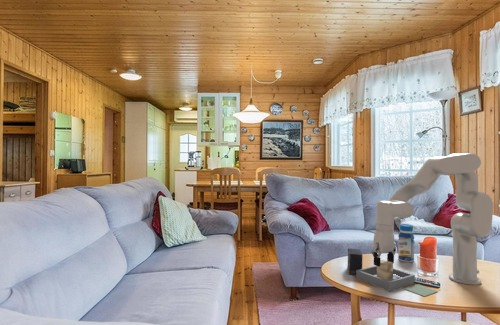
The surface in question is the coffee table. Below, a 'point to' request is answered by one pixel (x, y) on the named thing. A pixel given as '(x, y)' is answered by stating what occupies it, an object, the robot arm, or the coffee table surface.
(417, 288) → the mat
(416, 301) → the coffee table surface
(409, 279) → the gray square tray
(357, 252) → the small box
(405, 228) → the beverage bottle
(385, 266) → the birch block
